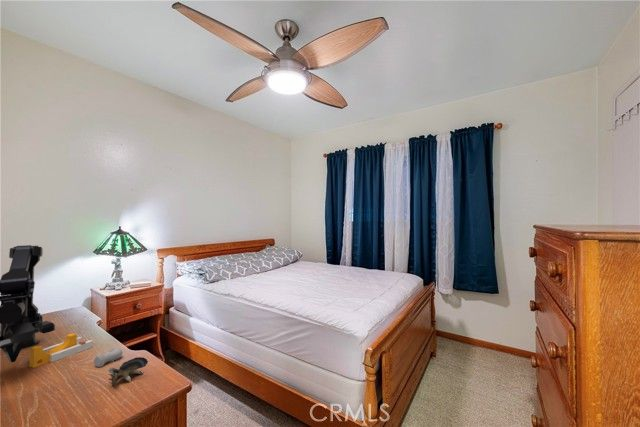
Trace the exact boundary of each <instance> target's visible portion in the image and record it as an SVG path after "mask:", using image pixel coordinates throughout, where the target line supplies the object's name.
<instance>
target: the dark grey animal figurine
mask: <svg viewBox="0 0 640 427" xmlns="http://www.w3.org/2000/svg"><path fill="white" fill-rule="evenodd" d="M148 363H149V360H148V359H147V358H146V357H142V356H139V357H138V356H137V357H134V358H132V359H128V360H127V361H124V362H123V363H122V364H121V365H120V367H119V368H118V369H117V368H116V367H111V368H110V367H109V369H108V372H109V373H108V376H111V378H108V381H111V387H114V386H115V385H116V384H117V382H118V381H119V380H121V379H124V380H125V381H128V382H129V383H131V382H132V379H131V376H129V375H131V374H132V375H133V374H134V375H135V374H139V375H140V374H141V375H143V374H144V373H142V372H141V371H142V370H139V369H143V368H144V367H146V366H147V365H148Z"/></svg>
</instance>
